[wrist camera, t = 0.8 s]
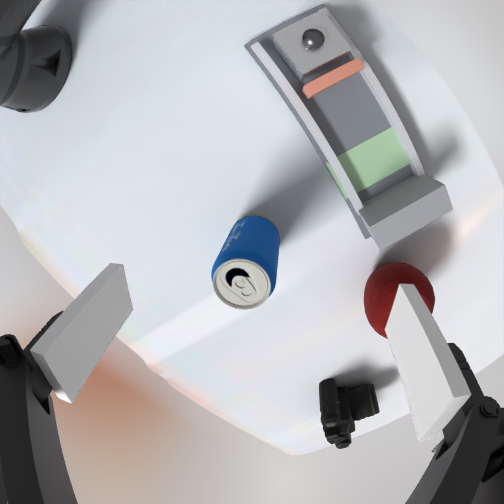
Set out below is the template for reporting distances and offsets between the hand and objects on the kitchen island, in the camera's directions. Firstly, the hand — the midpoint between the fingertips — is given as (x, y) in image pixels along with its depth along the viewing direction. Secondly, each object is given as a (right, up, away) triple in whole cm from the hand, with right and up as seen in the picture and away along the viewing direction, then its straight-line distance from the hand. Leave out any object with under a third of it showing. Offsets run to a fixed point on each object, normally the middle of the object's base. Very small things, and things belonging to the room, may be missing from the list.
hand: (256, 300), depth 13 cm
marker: (+8, +21, +15) cm, 27 cm away
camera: (+19, -26, +38) cm, 49 cm away
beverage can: (0, +4, +26) cm, 26 cm away
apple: (+19, -2, +26) cm, 32 cm away
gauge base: (+11, +18, +18) cm, 27 cm away
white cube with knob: (+6, +24, +14) cm, 28 cm away
